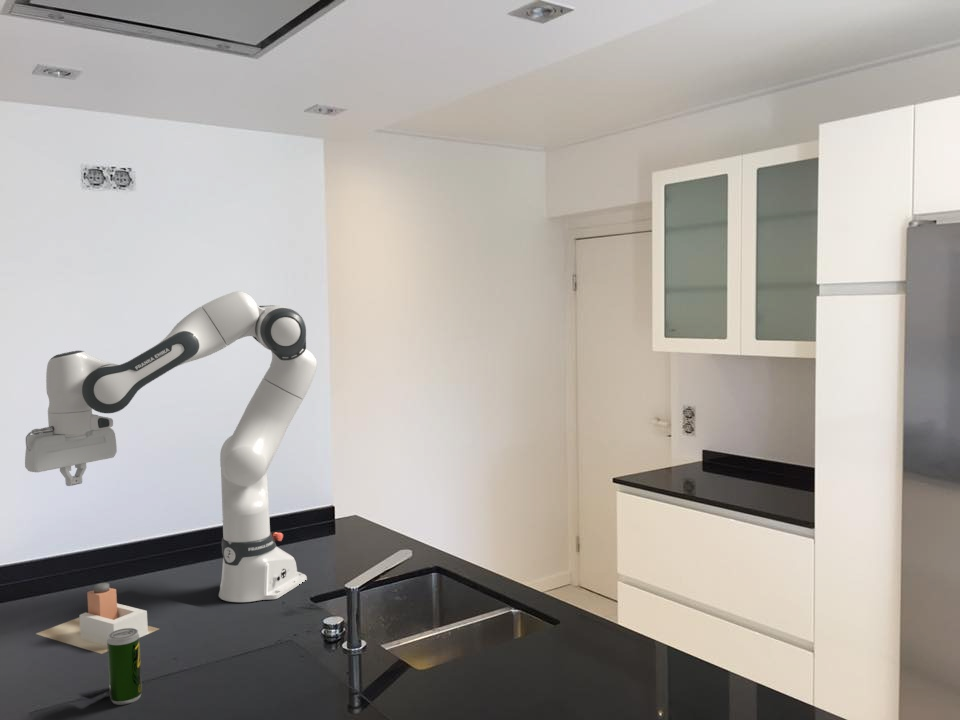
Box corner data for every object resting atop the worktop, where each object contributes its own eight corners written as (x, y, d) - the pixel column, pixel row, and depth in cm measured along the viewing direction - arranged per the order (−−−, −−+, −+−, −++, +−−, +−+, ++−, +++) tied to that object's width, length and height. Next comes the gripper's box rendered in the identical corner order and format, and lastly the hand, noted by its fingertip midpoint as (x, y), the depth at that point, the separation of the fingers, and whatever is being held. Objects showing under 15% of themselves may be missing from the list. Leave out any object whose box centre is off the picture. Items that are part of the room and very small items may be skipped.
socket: (114, 624, 177) (113, 602, 177) (148, 633, 172) (146, 610, 172) (80, 638, 170) (79, 614, 170) (114, 648, 165) (113, 624, 165)
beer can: (112, 708, 143) (109, 642, 142) (107, 696, 147) (104, 632, 147) (145, 699, 146) (142, 634, 145) (139, 688, 150) (136, 625, 150)
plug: (106, 627, 176) (103, 580, 175) (118, 630, 174) (115, 583, 173) (89, 633, 172) (86, 586, 171) (101, 637, 170) (99, 589, 169)
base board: (94, 618, 185) (94, 611, 185) (160, 635, 175) (159, 628, 175) (35, 640, 173) (35, 633, 173) (101, 661, 162) (101, 653, 162)
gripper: (34, 431, 171) (38, 495, 172) (119, 418, 189) (122, 477, 190) (16, 429, 174) (20, 493, 175) (101, 417, 192) (104, 474, 193)
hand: (74, 484), depth 183 cm, fingers closed
